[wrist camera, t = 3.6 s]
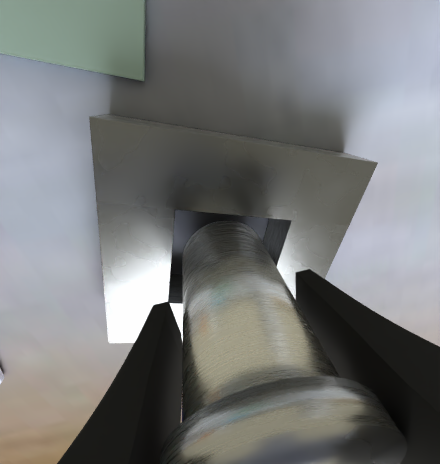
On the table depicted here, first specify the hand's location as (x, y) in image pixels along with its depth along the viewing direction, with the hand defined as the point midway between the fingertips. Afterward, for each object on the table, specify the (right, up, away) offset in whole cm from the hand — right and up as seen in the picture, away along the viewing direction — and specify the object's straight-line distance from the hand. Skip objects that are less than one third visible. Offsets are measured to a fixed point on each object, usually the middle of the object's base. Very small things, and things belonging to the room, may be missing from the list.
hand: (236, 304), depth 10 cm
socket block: (-1, +3, +5) cm, 5 cm away
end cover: (0, +2, +3) cm, 3 cm away
